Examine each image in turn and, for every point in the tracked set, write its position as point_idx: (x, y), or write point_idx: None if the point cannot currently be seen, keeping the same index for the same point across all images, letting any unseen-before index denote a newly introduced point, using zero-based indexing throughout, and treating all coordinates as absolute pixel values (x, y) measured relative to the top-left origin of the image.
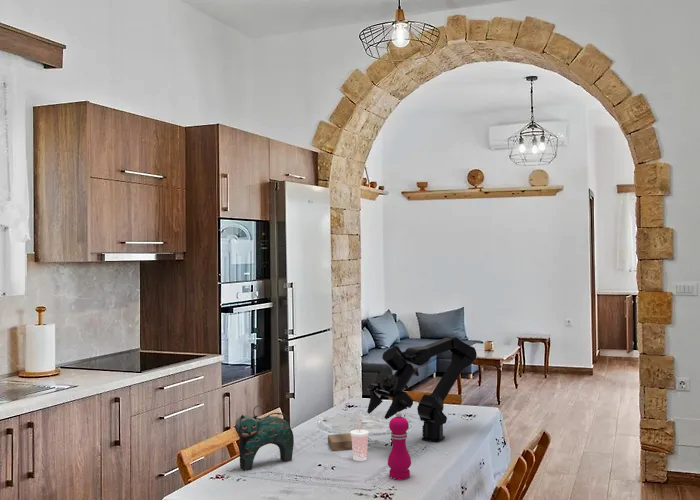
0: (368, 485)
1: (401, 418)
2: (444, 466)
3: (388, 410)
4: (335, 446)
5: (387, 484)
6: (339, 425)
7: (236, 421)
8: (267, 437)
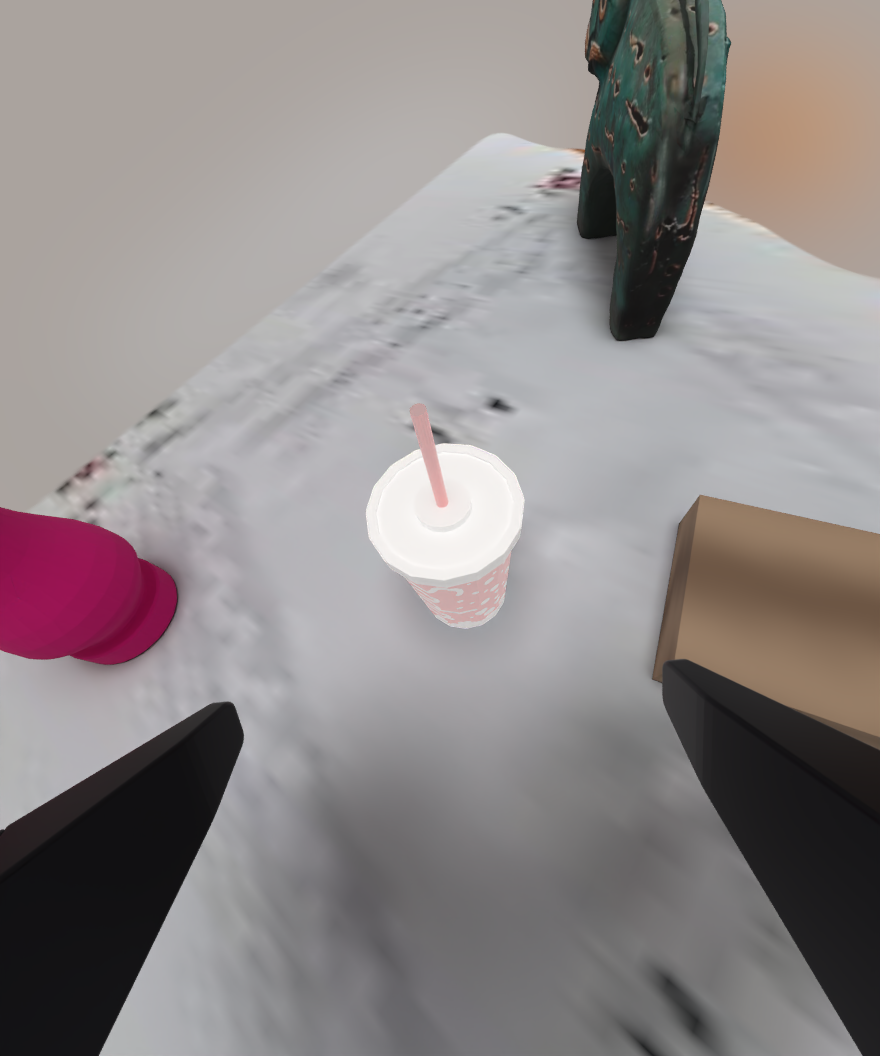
0: (179, 460)
1: None
2: None
3: (102, 788)
4: (686, 528)
5: (124, 519)
6: None
7: None
8: (602, 126)
